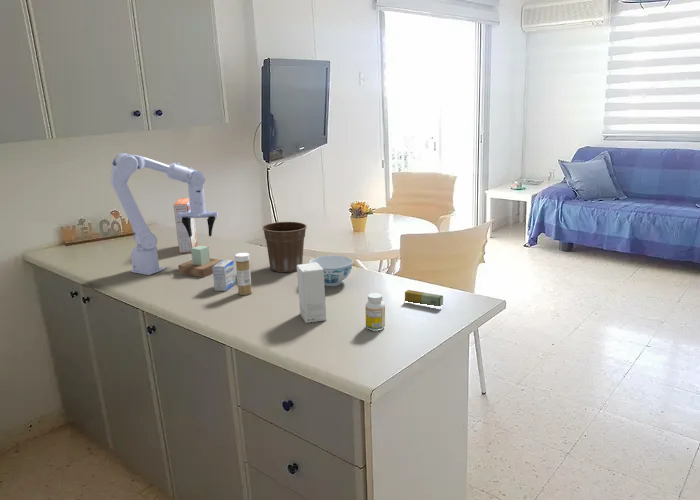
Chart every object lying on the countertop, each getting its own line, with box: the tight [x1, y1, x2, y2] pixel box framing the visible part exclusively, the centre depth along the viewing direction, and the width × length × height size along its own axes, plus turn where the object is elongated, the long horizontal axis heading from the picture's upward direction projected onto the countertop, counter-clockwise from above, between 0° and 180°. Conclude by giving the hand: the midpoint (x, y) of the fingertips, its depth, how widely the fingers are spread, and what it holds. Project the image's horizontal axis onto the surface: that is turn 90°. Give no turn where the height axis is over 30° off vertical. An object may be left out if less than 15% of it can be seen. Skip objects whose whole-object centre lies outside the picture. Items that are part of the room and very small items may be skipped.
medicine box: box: [212, 259, 236, 292], centre depth 192 cm, size 8×4×9 cm, turn 168°
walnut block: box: [177, 257, 223, 278], centre depth 211 cm, size 12×12×3 cm
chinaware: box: [308, 254, 354, 287], centre depth 194 cm, size 15×15×8 cm
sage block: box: [191, 245, 211, 265], centre depth 210 cm, size 4×4×6 cm
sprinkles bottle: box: [234, 252, 253, 296], centre depth 185 cm, size 5×5×14 cm
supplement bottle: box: [365, 292, 386, 330], centre depth 157 cm, size 5×5×10 cm
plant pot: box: [262, 221, 307, 273], centre depth 211 cm, size 16×16×16 cm
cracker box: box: [173, 197, 198, 254], centre depth 239 cm, size 14×6×21 cm, turn 6°
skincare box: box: [296, 262, 327, 324], centre depth 164 cm, size 8×7×16 cm
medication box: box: [404, 289, 444, 306], centre depth 173 cm, size 12×3×4 cm, turn 58°
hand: (200, 236), depth 220 cm, fingers open, 7 cm apart
